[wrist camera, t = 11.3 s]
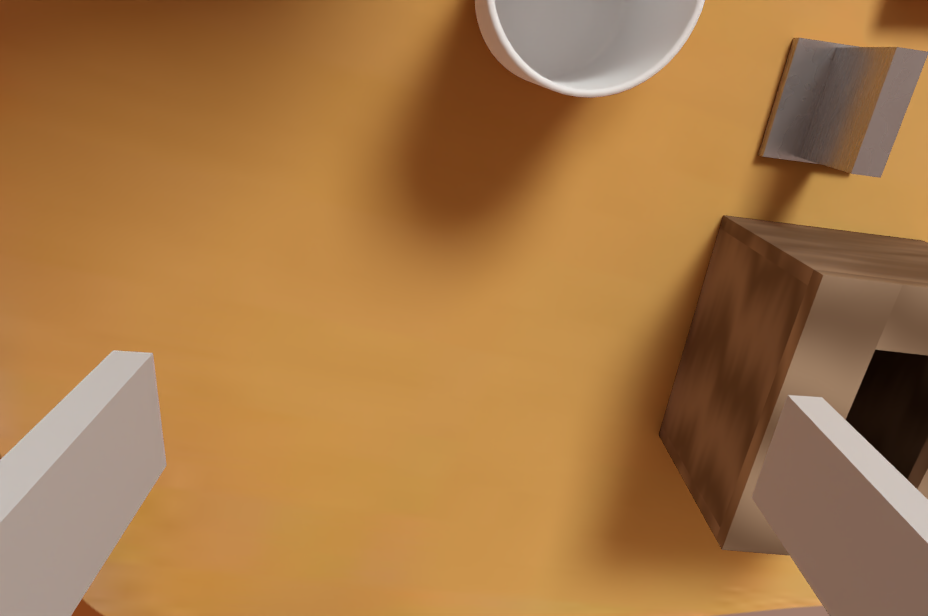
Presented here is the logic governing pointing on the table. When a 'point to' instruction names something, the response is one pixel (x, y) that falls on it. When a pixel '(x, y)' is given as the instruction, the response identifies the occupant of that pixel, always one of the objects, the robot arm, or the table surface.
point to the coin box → (797, 359)
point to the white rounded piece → (586, 40)
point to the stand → (841, 105)
